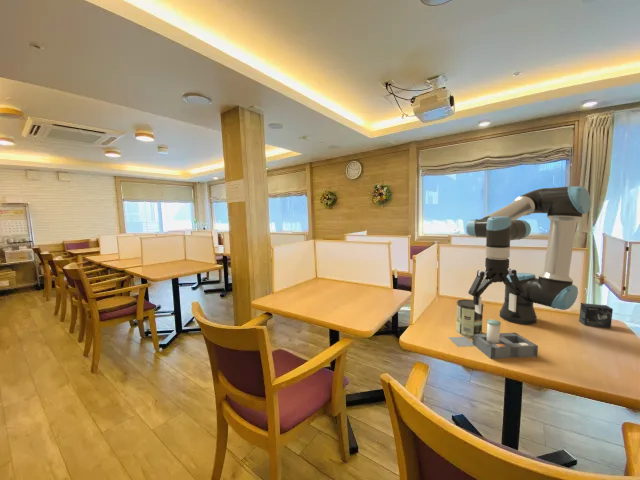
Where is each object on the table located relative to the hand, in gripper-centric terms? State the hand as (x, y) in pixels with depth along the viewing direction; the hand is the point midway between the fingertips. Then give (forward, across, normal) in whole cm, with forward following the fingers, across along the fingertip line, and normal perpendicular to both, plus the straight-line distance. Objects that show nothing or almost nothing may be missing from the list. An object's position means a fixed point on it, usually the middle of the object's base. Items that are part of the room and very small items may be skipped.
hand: (495, 311), depth 104 cm
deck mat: (+16, +8, -8) cm, 20 cm away
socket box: (+16, -4, 0) cm, 17 cm away
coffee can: (+16, +1, -16) cm, 23 cm away
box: (+18, -62, -18) cm, 67 cm away
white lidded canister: (+16, +1, 0) cm, 16 cm away
